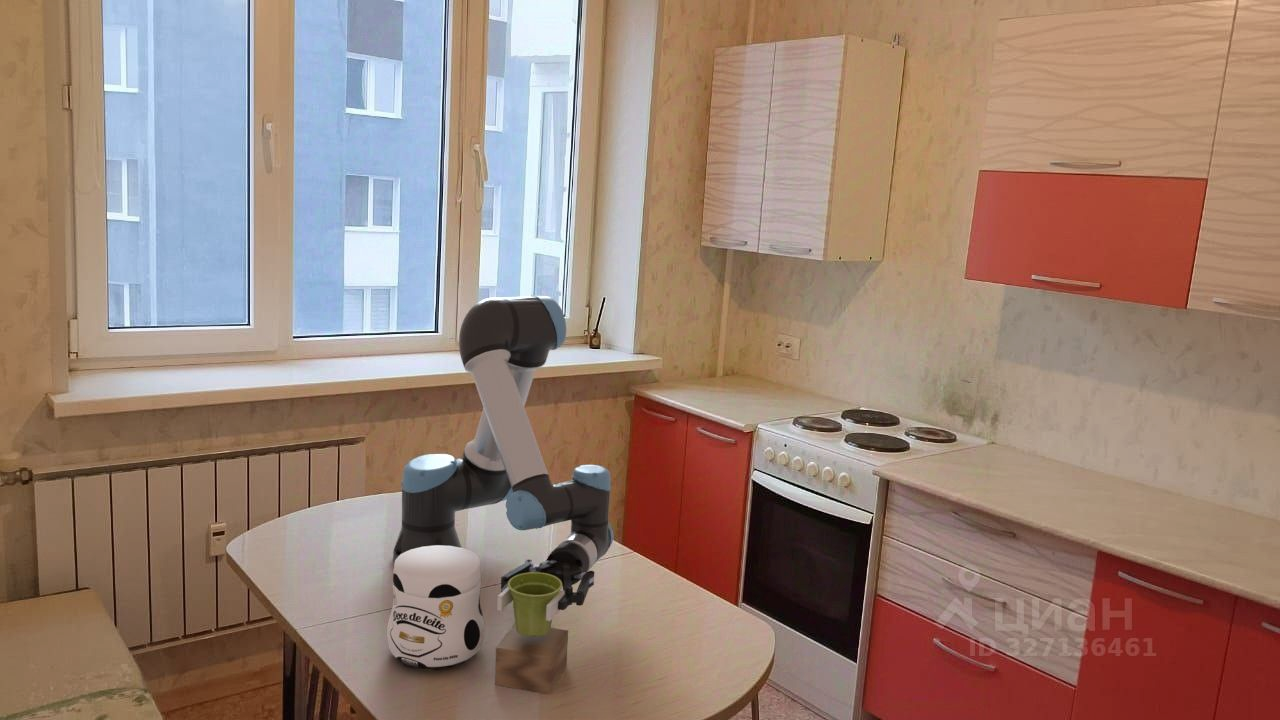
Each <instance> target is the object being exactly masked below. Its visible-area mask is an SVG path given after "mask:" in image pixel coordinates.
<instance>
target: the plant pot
mask: <svg viewBox="0 0 1280 720" xmlns="http://www.w3.org/2000/svg"><path fill="white" fill-rule="evenodd" d="M508 587H509V589H510V590H511V595H512V597H513V601H512V605H513V607H512V608H513V614H514V615H513V616H514V623H515V627H516V631H517V632H518V633H520V634H522V635H524V636H532V635H536V636H542V635H545V634H547V633H548V632H549V631H550V629H551V628H552V623H553V619H552V620H551V621H547V620H546V609H547V604H548V603H549V602H550V601H551V600H552V599H553V598H554V597H555V596H556V595H557V594H558V593H559V592H560V591H561V590H562V589H563V586H562V582H561V580H560V579H559V578H557V577H556V576H553V575H551V574H547V573H540V572H529V573H522V574H519V575H516V576H514V577H512V578H511V579H510V580H509V582H508Z"/></svg>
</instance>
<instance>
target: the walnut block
mask: <svg viewBox="0 0 1280 720" xmlns="http://www.w3.org/2000/svg"><path fill="white" fill-rule="evenodd" d="M568 641H569V630H567V629H560V628H555V627H551V629H550V631H549V632H548V633H547V634H545V635H542V636H536V635H532V636H524V635H522V634H520V633H518V632H517V631H516V627H515V622H514V623H513V625H512V626H511V627H510V629H509V630H508V631H507V632H506V634H505V635H504V637H503V638H502V639H501V640H500V642H499V643H498V645H497V646H496V647H495V670H494V671H495V672H494V686H499V687H506V688H512V689H517V690H523V691H529V692H536V693H542V694H547V695H551V694H552V692H553V691H554V689H555V686H556V685H557V684H558V682H559V680H560V678H561V677H562V676H563V673H564V671H565V670H566V668H567V665H568V664H567V662H568V647H569V646H568V644H569V643H568Z"/></svg>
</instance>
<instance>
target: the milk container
mask: <svg viewBox="0 0 1280 720" xmlns="http://www.w3.org/2000/svg"><path fill="white" fill-rule="evenodd" d="M393 563H394V562H393ZM392 574H393V575H392V581H393V582H392V608H391V613H390V616H389V618H388V623H387V629H386V636H387V643H388V648H389V651H390V653H391V654H392V656H393V657H394V658H395V659H396V660H397V661H398V662H401V663H403V664H404V665H407V666H409V667H414V668H418V669H421V670H440V669H441V670H442V669H446V668H447V669H448V668H452V667H456V666H457V665H461V664H464V663H466V662H467V661H469V660H470V659H472V658H474V657H475V656H476V655H477V654H478V652H479V650H480V649H481V647H482V644H483V640H484V636H485V619H484V615H483V612H482V607H481V590H482V581H481V579H482V575H481V574H482V571H481V563H480V557H479V556H478V555H477V554H476V553H475V552H474V551H472V550H468V549H466V548H464V547H461V548H460V547H454V546H442V545H435V546H424V547H419V548H415V549H411V550H408V551H406V552H404V553H402V554H400V555H399V556H398V557H397V559H396V560H395V563H394V565H393V573H392Z"/></svg>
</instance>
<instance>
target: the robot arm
mask: <svg viewBox="0 0 1280 720" xmlns="http://www.w3.org/2000/svg"><path fill="white" fill-rule="evenodd" d="M566 336H567V321H566V318H565V315H564V312H563V310H562V308H561V306H560V305H559V304H558V302H557V301H556V300H555V299H554V298H552V297H550V296H547V295H535V294H532V295H530V296H509V297H508V296H507V297H504V296H503V297H499V296H498V297H488V298H485V299H482V300H481V301H478V302H477V303H475V304H474V305H473V306H471V308H470V309H469V310H468V312H467V313H466V315H465V317H464V318H463V320H462V323H461V326H460V329H459V337H458V346H459V347H458V348H459V356H460V359H461V362H462V365H463V368H464V370H465V371H466V372H467V373H469V374H471V375H472V378H473V381H474V383H475V386H476V390H477V392H478V396H479V399H480V401H481V404H482V406H483V407H482V412H481V415H480V419H479V423H478V425H477V429H476V433H475V436H474V439H472V440H471V441H468V442H467V443H466V444H465V446H464V450H463V453H462V455H461V457H459V458H455V457H454V456H453V455H450V454H447V453H436V454H435V453H428V454H423V455H420V456H417V457H414V458H412V459H411V460H409V461H408V462H407V463H406V464H405V466H404V467H403V470H402V477H401V478H402V479H401V482H400V484H401V487H400V488H401V527H400V531H399V535H398V536H397V539H396V542H395V545H394V548H393V550H392V551H393V552H392V553H393V554H392V555H393V556H392V557H393V558H392V561H394V562H393V563H395V560H396V559H397V557H398V556H399V555H400V554H402V553H404V552H406V551H408V550H411V549H415V548H419V547H424V546H435V545H442V546H454V547H460V548H462V545H461V541H460V539H459V537H458V532H457V530H456V529H457V528H456V526H455V525H456V521H455V520H456V519H455V518H456V512H459V511H463V510H464V511H465V510H469V509H474V508H479V507H484V506H485V507H486V506H490V505H496V504H498V503H501V502H504V501H505V509H506V518H507V520H508V521H509V524H510V525H511V526H512V527H513V528H514V529H515V530H518V531H529V530H535V529H536V530H537V529H542V528H543V527H548V526H551V525H554V524H558V523H559V524H560V523H564V522H568V521H570V534H569V535H567V537H566V538H564V539H563V540H562V541H561V542H560V544H558V545H557V546H556V547H555V548H554V549H553V550H552V551H551V552H549V554H548V556H547V558H546V560H545V561H541V562H540V563H539V564H538V563H537V564H536V563H534V562H533V560H532V559H530V558H529V559H528V558H527V559H525V561H524V562H523V564H521V565H518V566H517V567H515V568H513V569H511V570H510V571H508V572H506V573H505V574H502V575H501V576H500V577H501V579H500V593H499V594H498V595H497V607H496V608H497V609H496V610H497V612H503V611H504V609H505V608H507V607H508V606H509V604H511V603H513V597H512V595H511V590H510V589H509V587H508V582H509V580H510V579H511V578H512V577H514V576H516V575H519V574H522V573H529V572H540V573H547V574H551V575H553V576H556V577H557V578H559V579H560V580H561V582H562V589H561V590H560V591H559V593H558V594H557V595H556V596H555V597H554V598H553V599H552V600H551V601H550V602H549V603H548V604H547V609H546V620H547V621H551V620H552V621H553V618H554V617H556V615H557V614H559V612H560V611H564V610H566V609H567V608H568V607H569V606H571V605H573V604H576V606H580V607H581V606H583V605H584V602H585V600H586V597H587V595H588V592H589V590H590V588H591V587H593V586H594V584H595V571H594V570H591V568H593V566H594V565H595V564H596V563H597V562H598V561H599V560H600V559H601V558H602V557H603V556H605V555H606V553H607V552H608V551H609V549H610V548H611V546H612V544H613V541H614V537H615V536H614V531H613V529H612V526H611V524H610V521H609V513H610V501H611V499H610V497H611V491H612V489H611V486H612V485H611V484H612V483H611V472H610V471H609V470H608V469H607V468H606V467H603V466H602V465H598V464H581V465H579V466H577V467H575V468H574V470H573V473H572V476H571V480H567V481H566V480H565V481H562V482H557V483H553V482H552V480H551V478H550V475H549V472H548V469H547V468H546V465H545V462H544V459H543V456H542V454H541V450H540V448H539V444H538V441H537V439H536V436H535V433H534V430H533V428H532V425H531V421H530V420H529V417H528V414H527V410H526V408H525V405H526V403H527V400H528V396H529V394H530V393H529V392H530V390H531V387H532V383H533V381H534V378H535V377H534V376H535V374H536V371H537V369H538V368H542V367H544V366H545V364H546V362H547V358H548V356H549V353H550V351H551V350H552V351H555V350H557V349H559V348H561V347H562V346H563V345H564V343H565V341H566ZM578 583H579V585H578V588H577V589H576V591H575V592H573V589H574V587H573V586H574V585H576V584H578Z"/></svg>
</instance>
